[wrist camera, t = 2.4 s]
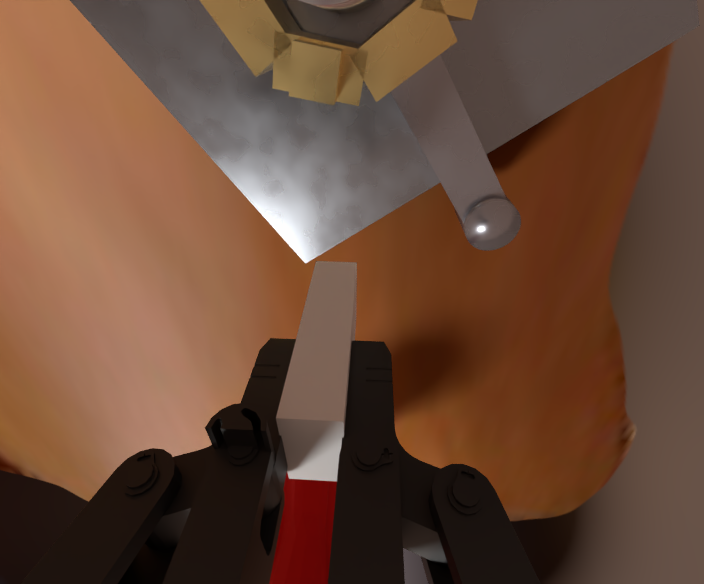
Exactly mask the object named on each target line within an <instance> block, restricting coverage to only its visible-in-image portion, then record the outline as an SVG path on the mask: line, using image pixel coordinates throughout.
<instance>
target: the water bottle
mask: <svg viewBox="0 0 704 584" xmlns="http://www.w3.org/2000/svg"><path fill="white" fill-rule="evenodd" d="M336 486H337V481H321V480H303V479H289V477H288V473H286V478H285V483H284V488H283V489H284V494H285V501H284V509H283V514H282V519H281V525H280V530H279V535H278V540H277V546H276V551H275V556H274V562H273V567H272V572H271V577H270V583H269V584H328V575H329V564H330V553H331V542H332V530H333V519H334V508H335V497H336Z"/></svg>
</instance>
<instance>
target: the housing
mask: <svg viewBox="0 0 704 584" xmlns="http://www.w3.org/2000/svg"><path fill="white" fill-rule="evenodd" d="M70 1H71V2H72V3H73V4H74V5H75V7H76V8H77V9H78V10H79V11H80V12H81V13H82V14H83V15H84V17H85V18H86V19H87V20H88V21H89V22H90V23H91V24H92V25H93V27H94V28H95V29H96V30H97V31H98V32H99V33H100V34H101V36H102V37H103V38H104V39H105V40H106V41H107V42H108V43H109V44H110V46H111V47H112V48H113V49H114V50H115V51H116V52H117V53H118V55H119V56H120V57H121V58H122V59H123V60H124V61H125V62H126V63H127V65H128V66H129V67H130V68H131V69H132V70H133V71H134V72H135V74H136V75H137V76H138V77H139V78H140V79H141V80H142V81H143V82H144V84H145V85H146V86H147V87H148V88H149V89H150V90H151V91H152V93H153V94H154V95H155V96H156V97H157V98H158V99H159V100H160V101H161V103H162V104H163V105H164V106H165V107H166V108H167V109H168V110H169V111H170V113H171V114H172V115H173V116H174V117H175V118H176V119H177V120H178V122H179V123H180V124H181V125H182V126H183V127H184V128H185V129H186V130H187V132H188V133H189V134H190V135H191V136H192V137H193V138H194V139H195V141H196V142H197V143H198V144H199V145H200V146H201V147H202V148H203V149H204V151H205V152H206V153H207V154H208V155H209V156H210V157H211V158H212V160H213V161H214V162H215V163H216V164H217V165H218V166H219V167H220V168H221V170H222V171H223V172H224V173H225V174H226V175H227V176H228V177H229V178H230V180H231V181H232V182H233V183H234V184H235V185H236V186H237V187H238V189H239V190H240V191H241V192H242V193H243V194H244V195H245V196H246V197H247V199H248V200H249V201H250V202H251V203H252V204H253V205H254V206H255V208H256V209H257V210H258V211H259V212H260V213H261V214H262V215H263V216H264V218H265V219H266V220H267V221H268V222H269V223H270V224H271V225H272V227H273V228H274V229H275V230H276V231H277V232H278V233H279V234H280V235H281V237H282V238H283V239H284V240H285V241H286V242H287V243H288V244H289V246H290V247H291V248H292V249H293V250H294V251H295V252H296V253H297V254H298V256H299V257H300V258H301V259H302V260H303V261H304V262H305V263H307V262H309V261H311V260H312V259H314V258H316V257H317V256H319V255H321V254H322V253H324V252H325V251H327V250H329V249H330V248H332V247H334V246H335V245H337V244H339V243H340V242H342V241H344V240H345V239H347V238H349V237H350V236H352V235H354V234H355V233H357V232H359V231H360V230H362V229H364V228H365V227H367V226H369V225H370V224H372V223H374V222H375V221H377V220H378V219H380V218H382V217H383V216H385V215H387V214H388V213H390V212H392V211H393V210H395V209H397V208H398V207H400V206H402V205H403V204H405V203H407V202H408V201H410V200H412V199H413V198H415V197H417V196H418V195H420V194H422V193H423V192H425V191H427V190H428V189H430V188H431V187H433V186H435V185H436V184H438V183H440V180H439V178H438V177H437V175H436V173H435V171H434V169H433V168H432V166H431V164H430V162H429V160H428V159H427V157H426V155H425V153H424V151H423V150H422V148H421V146H420V144H419V142H418V141H417V139H416V137H415V135H414V133H413V132H412V130H411V128H410V126H409V124H408V123H407V121H406V119H405V117H404V115H403V114H402V112H401V110H400V108H399V106H398V105H397V103H396V101H395V99H394V97H393V96H392V94H391V92H389V93H388V94H387V95H385V96H384V97H383V98H381V99H380V100H379V101H377V102H376V101H375V99H374V97H373V95H372V94H371V92H370V90H369V89H368V87H367V85H366V83H365V82H364V80H363V85H362V91H361V97H360V103H359V106H355V105H351V104H346V103H341V102H336V103H335V105H330V104H325V103H320V102H315V101H310V100H305V99H300V98H296V97H291V96H289V92H288V91H283V90H278V89H273V88H272V87H273V69H272V70H270V71H268V72H266V73H263V74H261V75H259V76H257V77H255V75H254V74H253V73H252V71H251V70H250V68H249V67H248V66H247V64H246V63H245V62H244V60H243V59H242V57H241V56H240V55H239V53H238V52H237V51H236V49H235V48H234V47H233V45H232V44H231V42H230V41H229V40H228V38H227V37H226V36H225V34H224V33H223V32H222V30H221V29H220V27H219V26H218V25H217V23H216V22H215V21H214V19H213V18H212V16H211V15H210V14H209V12H208V11H207V10H206V8H205V7H204V6H203V4H202V3H201V1H200V0H70ZM282 1H283V3H284V5H285V6H286V8H287V9H288V11H289V13H290V14H291V16H292V17H293V19H294V21H295V22H296V24H297V25H298V27H299V29H300V30H301V31H302V32H307V33H311V34H316V35H320V36H325V37H330V38H334V39H339V40H343V41H348V42H352V43H357V44H362V43H363V42H364V41H365V40H366V39H368V38H369V37H370V36H371V35H372V34H373V33H375V32H376V31H377V30H378V29H379V28H381V27H382V26H383V25H384V24H385V23H387V22H388V21H389V20H390V19H391V18H392V17H394V16H395V15H396V14H397V13H398V12H400V11H401V10H402V9H403V8H404V7H406V6H407V5H408V4H409V3H410V2H412V1H413V0H282ZM449 22H450V25H451V27H452V29H453V32H454V34H455V36H456V39H457V42H456V43H454V44H453V45H452V46H450V47H449V48H448V49H447V50H445V51H444V52H443V53H441V54H440V55H441V57H442V59H443V62H444V64H445V66H446V68H447V70H448V73H449V75H450V77H451V79H452V81H453V83H454V86H455V88H456V90H457V92H458V94H459V97H460V99H461V101H462V103H463V105H464V107H465V110H466V112H467V114H468V116H469V118H470V120H471V123H472V125H473V127H474V129H475V131H476V134H477V136H478V138H479V140H480V142H481V144H482V147H483V149H484V151H485V153H486V154H488V153H489V152H491V151H493V150H494V149H496V148H498V147H499V146H501V145H503V144H504V143H506V142H508V141H509V140H511V139H513V138H514V137H516V136H518V135H519V134H521V133H523V132H524V131H526V130H528V129H529V128H531V127H533V126H534V125H536V124H537V123H539V122H541V121H542V120H544V119H546V118H547V117H549V116H551V115H552V114H554V113H556V112H557V111H559V110H561V109H562V108H564V107H566V106H567V105H569V104H571V103H572V102H574V101H576V100H577V99H579V98H581V97H582V96H584V95H585V94H587V93H589V92H590V91H592V90H594V89H595V88H597V87H599V86H600V85H602V84H604V83H605V82H607V81H609V80H610V79H612V78H614V77H615V76H617V75H619V74H620V73H622V72H624V71H625V70H627V69H629V68H630V67H632V66H634V65H635V64H637V63H638V62H640V61H642V60H643V59H645V58H647V57H648V56H650V55H652V54H653V53H655V52H657V51H658V50H660V49H662V48H663V47H665V46H667V45H668V44H670V43H672V42H673V41H675V40H677V39H678V38H680V37H681V36H683V35H685V34H686V33H688V32H690V31H691V30H693V29H695V28H696V27H698V26H699V18H698V8H697V0H478V1H477V4H476V8H475V11H474V14H473V17H472V20H465V21H450V20H449Z"/></svg>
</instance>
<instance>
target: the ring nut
mask: <svg viewBox="0 0 704 584" xmlns="http://www.w3.org/2000/svg"><path fill="white" fill-rule="evenodd" d="M200 1H201V3H202V4H203V6H204V7H205V8H206V10H207V11H208V12H209V14H210V15H211V16H212V18H213V19H214V21H215V22H216V23H217V25H218V26H219V27H220V29H221V30H222V32H223V33H224V34H225V36H226V37H227V38H228V40H229V41H230V42H231V44H232V45H233V47H234V48H235V49H236V51H237V52H238V53H239V55H240V56H241V57H242V59H243V60H244V62H245V63H246V64H247V66H248V67H249V68H250V70H251V71H252V73H253V74H254V75H255V77H257V76H259V75H261V74H263V73H266V72H268V71H270V70H272V69H273V87H272V88H273V89H278V90H283V91H288V92H289V96H291V97H296V98H300V99H305V100H310V101H315V102H320V103H325V104H330V105H335V103H336V102H341V103H346V104H351V105H355V106H359V103H360V97H361V91H362V85H363V80H364V82H365V83H366V85H367V87H368V89H369V90H370V92H371V94H372V95H373V97H374V99H375V101H376V102H377V101H379V100H380V99H381V98H383V97H384V96H385V95H387V94H388V93H389V92H391V94H392V96H393V97H394V99H395V101H396V103H397V105H398V106H399V108H400V110H401V112H402V114H403V115H404V117H405V119H406V121H407V123H408V124H409V126H410V128H411V130H412V132H413V133H414V135H415V137H416V139H417V141H418V142H419V144H420V146H421V148H422V150H423V151H424V153H425V155H426V157H427V159H428V160H429V162H430V164H431V166H432V168H433V169H434V171H435V173H436V175H437V177H438V178H439V180H440V182H441V184H442V186H443V187H444V189H445V191H446V193H447V195H448V196H449V198H450V200H451V202H452V204H453V206H454V208H455V213H456V215H457V217H458V219H459V222H460V224H461V226H462V228H463V230H464V233H465V235H466V237H467V239H468V241H469V243H470V244H471V245H472V246H474V247H475V248H478V249H481V250H495V249H498V248H501V247H503V246H505V245H507V244H508V243H509V242H510V241H512V240H513V239H514V237H515V236H516V235H517V233H518V231H519V229H520V225H521V218H520V214H519V212H518V211H517V209H516V208H515V207H514V205H513V204H512V203H511V202H510V200H509V199H508V198H507V197H506V195H505V194H504V192H503V190H502V188H501V186H500V184H499V181H498V179H497V177H496V175H495V173H494V171H493V168H492V166H491V164H490V162H489V160H488V157H487V155H486V153H485V151H484V149H483V147H482V144H481V142H480V140H479V138H478V136H477V134H476V131H475V129H474V127H473V125H472V123H471V120H470V118H469V116H468V114H467V112H466V110H465V107H464V105H463V103H462V101H461V99H460V97H459V94H458V92H457V90H456V88H455V86H454V83H453V81H452V79H451V77H450V75H449V73H448V70H447V68H446V66H445V64H444V62H443V59H442V57H441V55H440V54H441V53H443V52H444V51H445V50H447V49H448V48H449V47H450V46H452V45H453V44H454V43H456V42H457V39H456V36H455V34H454V32H453V29H452V27H451V25H450V22H449V20H450V21H465V20H472V17H473V14H474V11H475V8H476V4H477V1H478V0H413V1H412V2H410V3H409V4H408V5H407V6H406V7H404V8H403V9H402V10H401V11H400V12H398V13H397V14H396V15H395V16H394V17H392V18H391V19H390V20H389V21H388V22H387V23H385V24H384V25H383V26H382V27H381V28H379V29H378V30H377V31H376V32H375V33H373V34H372V35H371V36H370V37H369V38H368V39H366V40H365V41H364V42H363V43H362V44H357V43H352V42H348V41H343V40H339V39H334V38H330V37H325V36H320V35H316V34H311V33H307V32H302V31H301V30H300V29H299V27H298V25H297V24H296V22H295V21H294V19H293V17H292V16H291V14H290V13H289V11H288V9H287V8H286V6H285V5H284V3H283V1H282V0H200Z"/></svg>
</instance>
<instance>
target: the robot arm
mask: <svg viewBox="0 0 704 584" xmlns="http://www.w3.org/2000/svg"><path fill="white" fill-rule="evenodd" d="M356 285H357V263H355V262H322V261H316V264H315V268H314V272H313V276H312V280H311V283H310V287H309V291H308V295H307V299H306V303H305V307H304V311H303V315H302V318H301V322H300V326H299V330H298V334H297V338H296V339H276V338H271V339H270V340H269V341H268V342H267V343H266V344H265V345H264V346H263V347H262V348H261V349H260V351H259V354H258V356H257V359H256V362H255V367H254V368H253V370H252V373H251V378H250V379H249V381H248V384H247V387H246V390H245V392H244V395H243V398H242V401H241V403H240V404H233V405H231V406H228V407H226V408H224V409H221V410H220V411H219V412H218V413H217V414H215V415H214V416H213V417H212V418H211V419H210V421H209V423H208V424H207V426H206V427H205V429H206V431H207V433H208V436H209V438H210V440H211V443H212V445H211V446H209V447H207V448H204V449H201V450H198V451H194V452H190V453H187V454H183V455H179V456H175V457H172V455H171V454H169V453H168V452H166V451H165V450H163V449H154V448H152V449H148V450H144V451H140V452H138V453H136V454H135V455H133V456H131V457H129V458H128V459H127V460H125V461H124V462H123V463H122V464H121V465H120V466H119V467H118V468H117V469H116V470H115V471H114V472H113V474H112V475H111V476H110V477H109V478H108V480H107V481H106V482H105V483H104V484H103V486H102V487H101V488H100V489H99V490H98V492H97V493H96V494H95V495H94V496H93V498H92V499H91V500H90V501H89V502H88V504H87V505H86V506H85V507H84V508H83V510H82V511H81V512H80V513H79V514H78V516H77V517H76V518H75V519H74V520H73V522H72V523H71V524H70V525H69V526H68V527H67V529H66V530H65V531H64V532H63V533H62V535H61V536H60V537H59V538H58V539H57V541H56V542H55V543H54V544H53V546H52V547H51V548H50V549H49V550H48V551H47V553H46V554H45V555H44V556H43V557H42V559H41V560H40V561H39V563H38V564H37V565H36V566H35V567H34V568H33V569H32V571H31V572H30V573H29V574H28V576H27V577H26V578H25V579H24V580H23V581H22V583H21V584H269V583H270V577H271V572H272V567H273V562H274V556H275V551H276V546H277V540H278V535H279V530H280V525H281V519H282V514H283V509H284V501H285V494H284V489H283V488H284V483H285V478H286V473H288V477H289V479H303V480H321V481H337V486H336V497H335V508H334V519H333V530H332V542H331V553H330V564H329V575H328V584H405V581H404V561H403V548H405V549H407V550H409V551H411V552H413V553H416V554H417V555H420V556H421V559H422V562H423V566H424V569H425V573H426V576H427V580H428V583H429V584H540V582H539V580H538V578H537V576H536V573H535V571H534V569H533V567H532V565H531V563H530V561H529V559H528V557H527V555H526V553H525V551H524V549H523V547H522V545H521V543H520V541H519V539H518V537H517V534H516V532H515V530H514V528H513V526H512V524H511V522H510V520H509V518H508V516H507V514H506V512H505V510H504V508H503V506H502V504H501V502H500V499H499V497H498V495H497V493H496V491H495V489H494V488H493V486H492V485H491V483H490V482H489V481H488V479H487V478H486V477H485V476H484V475H483V474H481V473H480V472H479V471H478V470H476V469H475V468H472V467H470V466H467V465H464V464H450V465H448V466H446V467H443V468H441V469H440V468H437V467H435V466H432V465H430V464H427V463H425V462H422V461H420V460H418V459H416V458H414V457H412V456H411V455H410V454H409V453H407V452H406V451H405V450H404V449H403V447H402V446H401V445H400V443H399V441H398V439H397V437H396V433H395V425H394V404H393V384H392V361H391V353H390V352H389V350H388V348H387V346H386V345H385V343H384V342H375V341H355V328H356Z"/></svg>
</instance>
